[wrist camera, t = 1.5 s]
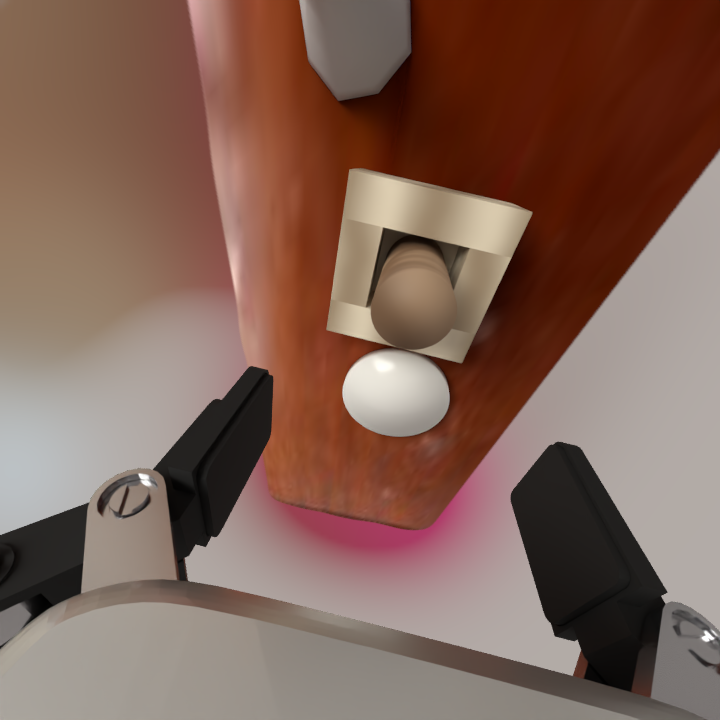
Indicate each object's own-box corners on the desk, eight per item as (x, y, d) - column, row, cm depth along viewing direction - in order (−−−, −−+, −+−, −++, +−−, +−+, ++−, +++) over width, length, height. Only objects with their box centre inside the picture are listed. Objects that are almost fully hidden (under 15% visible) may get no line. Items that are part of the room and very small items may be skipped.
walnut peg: (426, 221, 24) (432, 252, 16) (454, 274, 26) (471, 327, 18) (374, 255, 26) (354, 299, 18) (403, 302, 28) (397, 361, 20)
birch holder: (512, 203, 23) (532, 212, 19) (455, 335, 30) (461, 363, 26) (361, 168, 24) (349, 169, 19) (338, 306, 30) (326, 329, 26)
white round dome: (416, 329, 30) (416, 335, 29) (466, 410, 35) (468, 417, 34) (324, 374, 35) (322, 380, 34) (378, 440, 40) (378, 447, 39)
